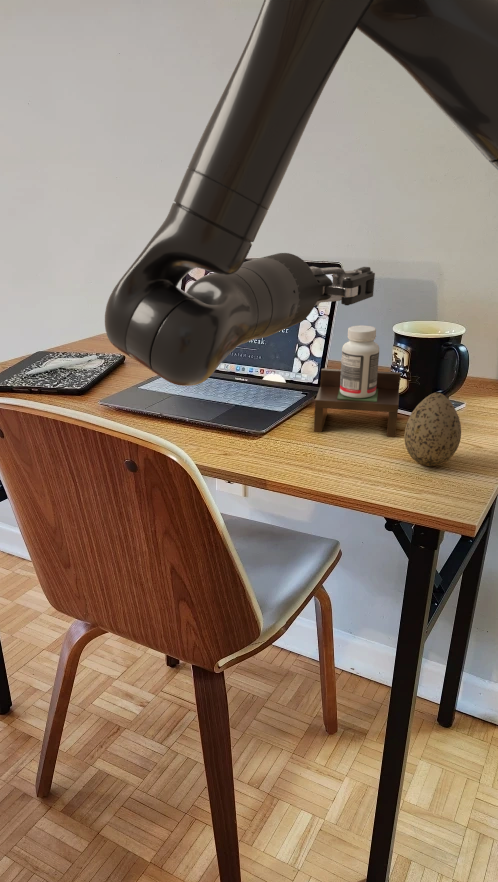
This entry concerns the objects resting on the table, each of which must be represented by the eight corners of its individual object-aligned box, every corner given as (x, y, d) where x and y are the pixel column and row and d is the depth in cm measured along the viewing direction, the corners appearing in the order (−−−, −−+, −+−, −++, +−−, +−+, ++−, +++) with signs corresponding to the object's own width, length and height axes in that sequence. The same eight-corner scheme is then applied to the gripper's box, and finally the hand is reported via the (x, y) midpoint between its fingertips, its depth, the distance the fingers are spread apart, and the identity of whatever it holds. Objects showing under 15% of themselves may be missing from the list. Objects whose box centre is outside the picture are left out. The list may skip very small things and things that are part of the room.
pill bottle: (366, 386, 106) (371, 322, 102) (382, 397, 102) (388, 331, 97) (333, 389, 105) (337, 325, 101) (348, 400, 101) (352, 334, 96)
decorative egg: (395, 469, 91) (403, 397, 87) (407, 450, 97) (415, 382, 92) (451, 479, 88) (462, 405, 84) (460, 458, 94) (470, 388, 90)
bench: (395, 418, 108) (400, 372, 105) (395, 437, 101) (400, 388, 98) (319, 413, 111) (321, 368, 108) (313, 431, 104) (316, 383, 101)
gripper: (330, 262, 64) (394, 243, 76) (206, 253, 72) (281, 237, 83) (326, 342, 68) (387, 311, 80) (207, 326, 75) (280, 300, 87)
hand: (333, 273), depth 82 cm, fingers open, 8 cm apart
